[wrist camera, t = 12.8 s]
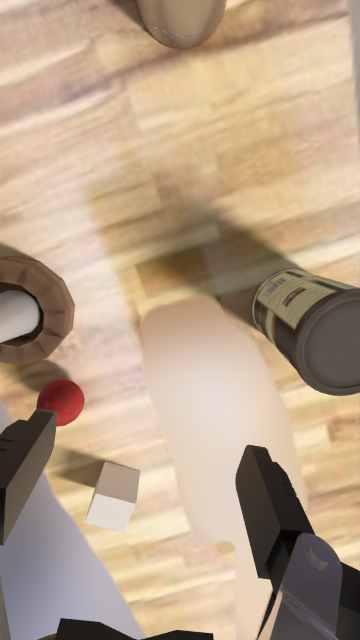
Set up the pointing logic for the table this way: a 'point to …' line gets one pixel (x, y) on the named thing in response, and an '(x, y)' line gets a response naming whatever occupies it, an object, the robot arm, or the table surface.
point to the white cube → (113, 497)
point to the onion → (62, 400)
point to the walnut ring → (52, 302)
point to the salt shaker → (17, 314)
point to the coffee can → (313, 328)
